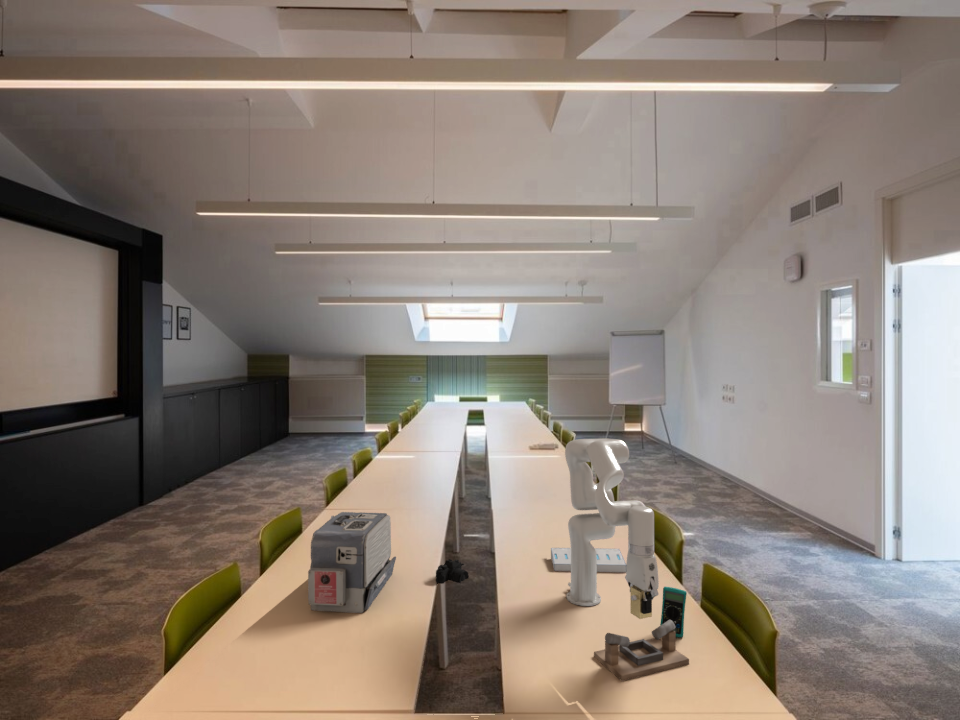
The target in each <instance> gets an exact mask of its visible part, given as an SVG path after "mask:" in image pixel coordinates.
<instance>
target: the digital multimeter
mask: <svg viewBox="0 0 960 720" xmlns="http://www.w3.org/2000/svg"><path fill="white" fill-rule="evenodd" d="M686 602H687V591H686V590H684V589H680V588H676V587H671V586H663V588H662V602H661V603H662V606H661V615H660V616H661V617H660V625H659V626H661V625H662V624H664V623H665V622H667V621H668V620H672V621H673V622H674V624H675V626H676V628H675V629H673V630H674V631H675V632H676V638H683V637H684V627H685V626H684V624H685V611H686Z"/></svg>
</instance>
